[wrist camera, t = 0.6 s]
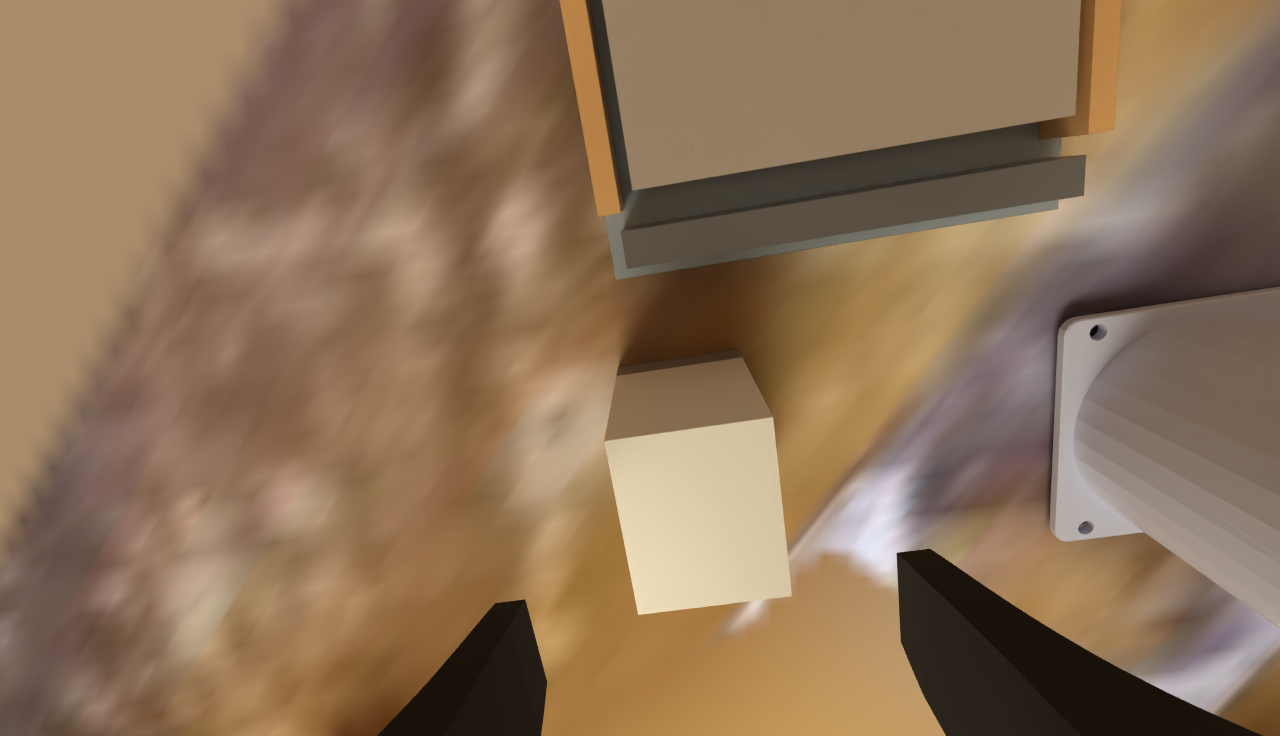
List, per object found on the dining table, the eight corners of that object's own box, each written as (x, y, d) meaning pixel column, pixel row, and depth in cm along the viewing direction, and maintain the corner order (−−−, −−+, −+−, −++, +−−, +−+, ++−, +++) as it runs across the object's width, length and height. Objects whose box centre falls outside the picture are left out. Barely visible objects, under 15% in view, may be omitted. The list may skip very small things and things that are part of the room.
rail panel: (1055, -244, 15) (1144, -337, 12) (1040, 207, 18) (1107, 212, 15) (545, -137, 16) (523, -202, 13) (617, 276, 19) (611, 291, 16)
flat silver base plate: (1058, -157, 14) (1089, -182, 13) (1049, 119, 16) (1075, 115, 15) (593, -63, 15) (589, -81, 14) (633, 190, 16) (632, 190, 15)
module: (738, 348, 20) (773, 416, 14) (754, 483, 21) (792, 595, 15) (618, 366, 20) (604, 441, 14) (642, 498, 21) (638, 614, 16)
